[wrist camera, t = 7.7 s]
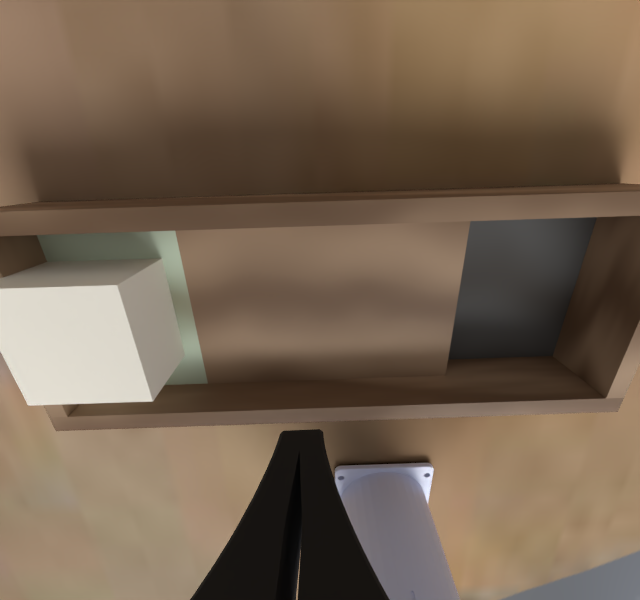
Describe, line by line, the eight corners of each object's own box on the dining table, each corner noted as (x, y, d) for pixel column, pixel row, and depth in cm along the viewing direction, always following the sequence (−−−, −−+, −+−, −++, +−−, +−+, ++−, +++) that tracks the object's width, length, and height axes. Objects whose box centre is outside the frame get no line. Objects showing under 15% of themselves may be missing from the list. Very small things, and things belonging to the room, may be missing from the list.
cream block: (185, 354, 19) (152, 401, 15) (85, 358, 19) (28, 405, 15) (162, 258, 16) (116, 285, 12) (47, 261, 16) (-32, 289, 12)
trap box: (559, 365, 22) (617, 411, 18) (105, 380, 22) (56, 431, 17) (620, 183, 17) (719, 188, 13) (38, 202, 17) (-52, 213, 13)
